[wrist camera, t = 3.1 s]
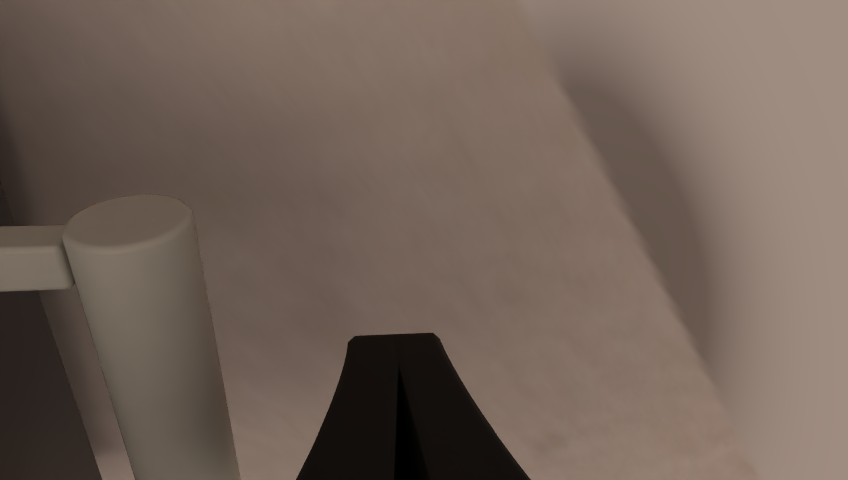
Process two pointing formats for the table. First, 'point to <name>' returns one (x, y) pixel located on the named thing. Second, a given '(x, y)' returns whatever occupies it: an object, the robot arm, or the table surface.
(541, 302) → the table surface
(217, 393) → the drawer
